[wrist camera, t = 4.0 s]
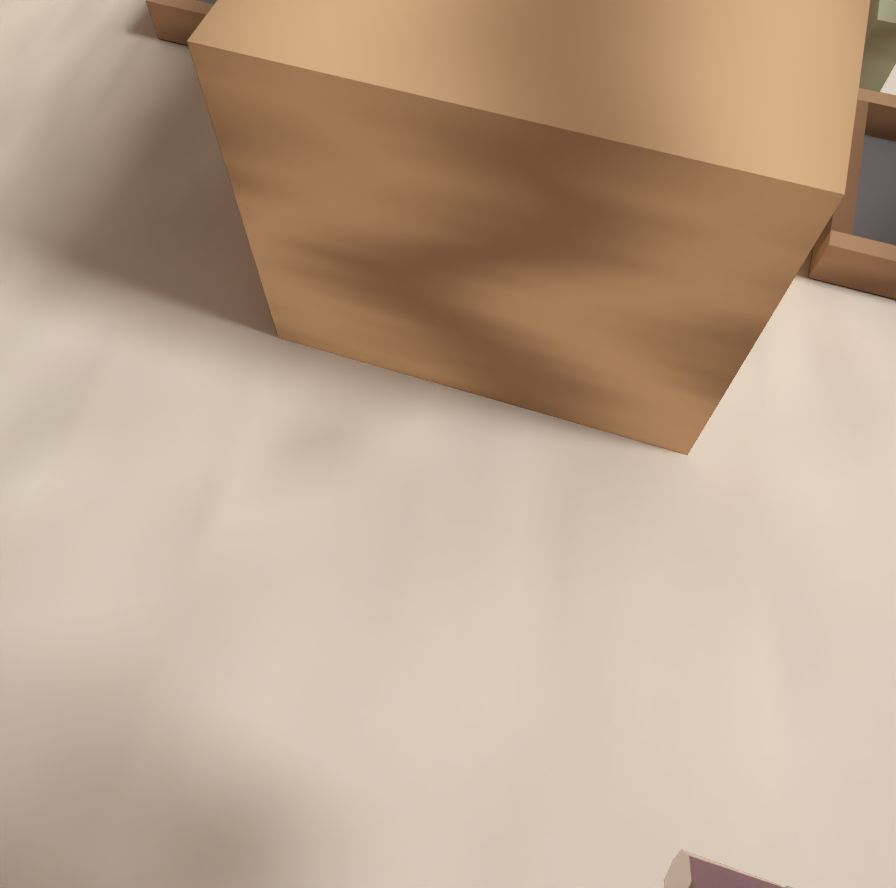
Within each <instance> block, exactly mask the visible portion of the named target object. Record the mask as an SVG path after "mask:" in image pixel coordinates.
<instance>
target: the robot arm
mask: <svg viewBox="0 0 896 888" xmlns="http://www.w3.org/2000/svg"><path fill="white" fill-rule="evenodd" d="M664 888H792V887H789V886H785V887H783V886H781V885H779V884H776V883H773V882H770V881H768V880H765V879H762V878H759V877H757V876H754V875H751V874H748V873H745V872H743V871H740V870H737V869H734V868H732V867H729V866H726V865H723V864H721V863H718V862H715V861H712V860H709V859H707V858H704V857H701V856H698V855H696V854H693V853H690V852H687V851H684V850H682V849H681V850H680V852H679V853H678V854H677V855H676V857H675V858H674V859H673V861H672V863H671V865H670V868H669V870H668V872H667V874H666V877H665V879H664Z"/></svg>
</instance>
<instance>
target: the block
mask: <svg viewBox="0 0 896 888" xmlns="http://www.w3.org/2000/svg"><path fill="white" fill-rule="evenodd" d="M869 7H870V0H217V2H216V3H215V4H214V6H213V7H212V8H211V10H210V11H209V12H208V14H207V15H206V16H205V18H204V19H203V20H202V22H201V23H200V24H199V26H198V27H197V28H196V30H195V31H194V32H193V34H192V35H191V36H190V38H189V39H188V40H187V43H188V46H189V49H190V53H191V56H192V59H193V62H194V66H195V69H196V72H197V75H198V79H199V82H200V85H201V88H202V92H203V95H204V98H205V101H206V104H207V108H208V111H209V114H210V117H211V121H212V124H213V127H214V130H215V134H216V137H217V140H218V143H219V147H220V150H221V153H222V156H223V160H224V163H225V166H226V169H227V173H228V176H229V179H230V182H231V186H232V189H233V192H234V195H235V199H236V202H237V205H238V208H239V212H240V215H241V218H242V221H243V225H244V228H245V231H246V234H247V237H248V241H249V244H250V247H251V250H252V254H253V257H254V260H255V263H256V267H257V270H258V273H259V276H260V280H261V283H262V286H263V289H264V293H265V296H266V299H267V302H268V306H269V309H270V312H271V315H272V319H273V322H274V325H275V328H276V332H277V335H278V338H281V339H285V340H288V341H292V342H295V343H299V344H302V345H306V346H309V347H313V348H316V349H320V350H323V351H327V352H330V353H334V354H337V355H341V356H344V357H348V358H351V359H355V360H358V361H362V362H365V363H369V364H372V365H376V366H379V367H383V368H386V369H390V370H393V371H397V372H400V373H404V374H407V375H411V376H414V377H418V378H421V379H425V380H428V381H432V382H435V383H438V384H442V385H445V386H449V387H452V388H456V389H459V390H463V391H466V392H470V393H473V394H477V395H480V396H484V397H487V398H491V399H494V400H498V401H501V402H505V403H508V404H512V405H515V406H519V407H522V408H526V409H529V410H533V411H536V412H540V413H543V414H547V415H550V416H554V417H557V418H561V419H564V420H568V421H571V422H575V423H578V424H582V425H585V426H589V427H592V428H596V429H599V430H603V431H606V432H610V433H613V434H617V435H620V436H624V437H627V438H630V439H634V440H637V441H641V442H644V443H648V444H651V445H655V446H658V447H662V448H665V449H669V450H672V451H676V452H679V453H683V454H686V455H688V453H689V452H690V450H691V448H692V447H693V445H694V443H695V442H696V440H697V438H698V437H699V435H700V433H701V432H702V430H703V428H704V427H705V425H706V423H707V422H708V420H709V418H710V417H711V415H712V414H713V412H714V410H715V409H716V407H717V405H718V404H719V402H720V400H721V399H722V397H723V395H724V394H725V392H726V390H727V389H728V387H729V385H730V384H731V382H732V380H733V379H734V377H735V375H736V374H737V372H738V370H739V369H740V367H741V365H742V364H743V362H744V360H745V359H746V357H747V355H748V354H749V352H750V351H751V349H752V347H753V346H754V344H755V342H756V341H757V339H758V337H759V336H760V334H761V332H762V331H763V329H764V327H765V326H766V324H767V322H768V321H769V319H770V317H771V316H772V314H773V312H774V311H775V309H776V307H777V306H778V304H779V302H780V301H781V299H782V297H783V296H784V294H785V292H786V291H787V289H788V288H789V286H790V284H791V283H792V281H793V279H794V278H795V276H796V274H797V273H798V271H799V269H800V268H801V266H802V264H803V263H804V261H805V259H806V258H807V256H808V254H809V253H810V251H811V249H812V248H813V246H814V244H815V243H816V241H817V239H818V238H819V236H820V234H821V233H822V231H823V229H824V228H825V226H826V224H827V223H828V221H829V220H830V218H831V216H832V215H833V213H834V211H835V210H836V208H837V206H838V205H839V203H840V201H841V200H842V198H843V196H844V195H845V188H846V180H847V172H848V165H849V157H850V150H851V142H852V135H853V127H854V120H855V112H856V105H857V97H858V90H859V82H860V75H861V67H862V60H863V52H864V45H865V37H866V29H867V22H868V14H869Z"/></svg>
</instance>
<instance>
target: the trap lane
mask: <svg viewBox="0 0 896 888" xmlns="http://www.w3.org/2000/svg"><path fill="white" fill-rule="evenodd" d="M216 2H217V0H146V3H147V6H148V9H149V12H150V15H151V18H152V21H153V24H154V27H155V30H156V33H157V36H158V38H159V39H164V40H168V41H172V42H176V43H180V44H185V45H188V43H187V40H188V39H189V38H190V36H191V35H192V34H193V32H194V31H195V30H196V28H197V27H198V26H199V24H200V23H201V22H202V20H203V19H204V18H205V16H206V15H207V14H208V12H209V11H210V10H211V8H212V7H213V6H214V4H215V3H216ZM895 64H896V0H870V7H869V14H868V22H867V29H866V37H865V45H864V52H863V60H862V67H861V75H860V82H859V90H858V97H857V105H856V112H855V120H854V127H853V135H852V142H851V150H850V157H849V165H848V172H847V180H846V188H845V195H844V196H843V198H842V200H841V201H840V203H839V205H838V206H837V208H836V210H835V211H834V213H833V215H832V216H831V218H830V220H829V221H828V223H827V224H826V226H825V228H824V229H823V231H822V233H821V234H820V236H819V238H818V239H817V241H816V243H815V244H814V246H813V252H812V258H811V265H810V271H809V278H813V279H817V280H821V281H825V282H829V283H833V284H837V285H841V286H845V287H849V288H853V289H857V290H861V291H865V292H869V293H873V294H877V295H881V296H885V297H889V298H893V299H896V95H891V94H886V93H882V92H880V90H881V88H882V87H883V85H884V83H885V81H886V80H887V78H888V76H889V74H890V73H891V71H892V69H893V67H894V66H895Z"/></svg>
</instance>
